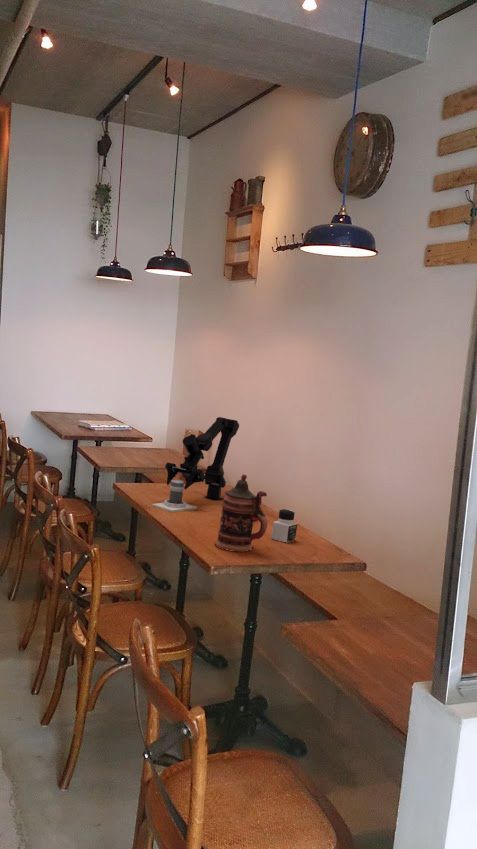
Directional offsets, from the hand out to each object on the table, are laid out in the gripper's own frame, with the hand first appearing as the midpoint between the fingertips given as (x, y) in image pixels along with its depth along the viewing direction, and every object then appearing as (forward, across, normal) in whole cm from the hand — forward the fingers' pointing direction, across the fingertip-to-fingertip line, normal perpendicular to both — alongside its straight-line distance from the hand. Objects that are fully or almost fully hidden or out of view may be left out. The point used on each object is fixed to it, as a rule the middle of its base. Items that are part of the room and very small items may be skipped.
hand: (176, 486), depth 323 cm
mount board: (+6, 0, -7) cm, 9 cm away
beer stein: (+30, -50, +16) cm, 60 cm away
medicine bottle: (+11, -57, -2) cm, 58 cm away
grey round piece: (+6, 0, -7) cm, 9 cm away
